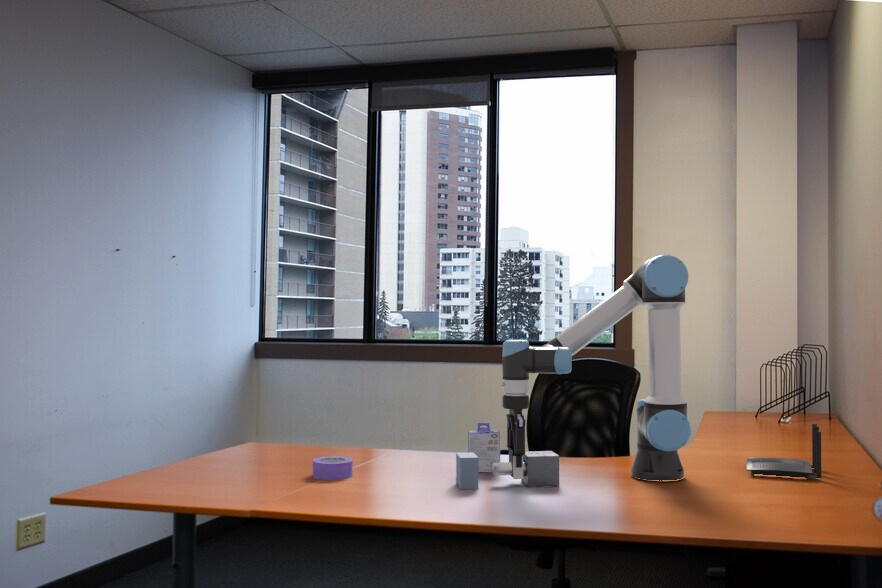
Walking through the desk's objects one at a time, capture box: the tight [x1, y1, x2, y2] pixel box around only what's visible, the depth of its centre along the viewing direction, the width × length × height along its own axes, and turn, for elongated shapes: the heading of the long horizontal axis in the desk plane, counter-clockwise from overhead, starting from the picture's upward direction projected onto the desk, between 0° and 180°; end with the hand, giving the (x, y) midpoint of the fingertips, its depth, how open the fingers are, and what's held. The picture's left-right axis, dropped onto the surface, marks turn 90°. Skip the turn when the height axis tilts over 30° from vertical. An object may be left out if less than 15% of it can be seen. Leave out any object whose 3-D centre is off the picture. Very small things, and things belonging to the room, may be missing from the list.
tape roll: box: [312, 455, 354, 481], centre depth 245 cm, size 12×12×5 cm
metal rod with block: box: [491, 448, 526, 478], centre depth 233 cm, size 18×5×8 cm, turn 97°
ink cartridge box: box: [467, 422, 501, 473], centre depth 252 cm, size 10×6×14 cm, turn 90°
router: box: [746, 423, 822, 479], centre depth 249 cm, size 21×20×15 cm
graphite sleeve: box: [520, 450, 560, 488], centre depth 234 cm, size 9×8×8 cm
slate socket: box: [455, 452, 479, 490], centre depth 231 cm, size 5×8×9 cm, turn 7°
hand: (515, 476), depth 233 cm, fingers closed on metal rod with block, 5 cm apart
